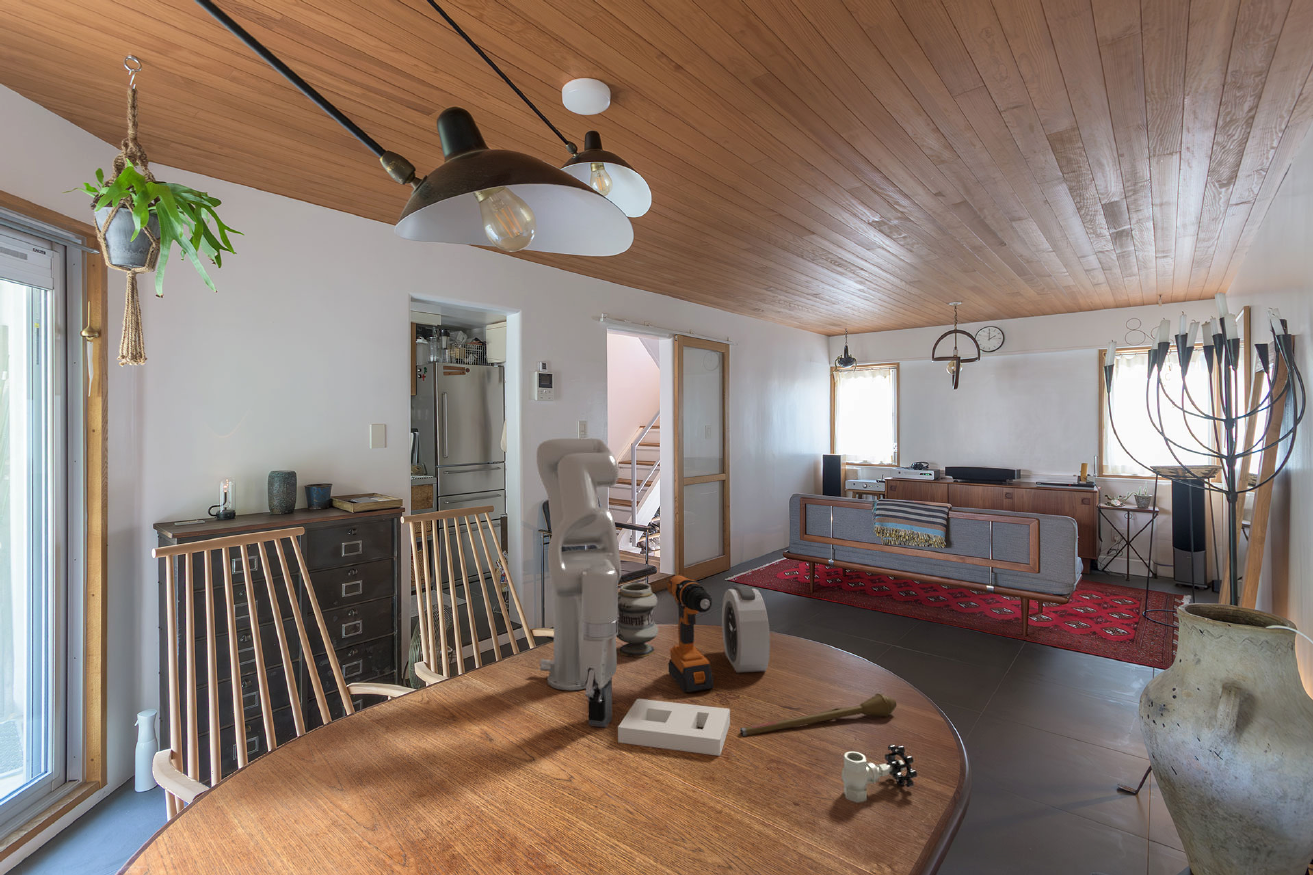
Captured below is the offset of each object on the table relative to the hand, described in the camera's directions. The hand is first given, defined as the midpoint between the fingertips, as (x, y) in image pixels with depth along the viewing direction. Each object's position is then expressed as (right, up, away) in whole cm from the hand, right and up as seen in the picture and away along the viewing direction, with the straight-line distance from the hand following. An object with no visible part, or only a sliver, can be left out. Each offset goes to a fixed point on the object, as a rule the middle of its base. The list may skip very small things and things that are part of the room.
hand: (600, 713), depth 125 cm
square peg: (0, -2, 0) cm, 2 cm away
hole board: (+16, -2, -4) cm, 16 cm away
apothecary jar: (+6, -2, +42) cm, 42 cm away
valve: (+48, -2, -25) cm, 54 cm away
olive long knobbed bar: (+46, -2, -1) cm, 46 cm away
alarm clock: (+35, -2, +33) cm, 48 cm away
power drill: (+21, -2, +18) cm, 27 cm away
